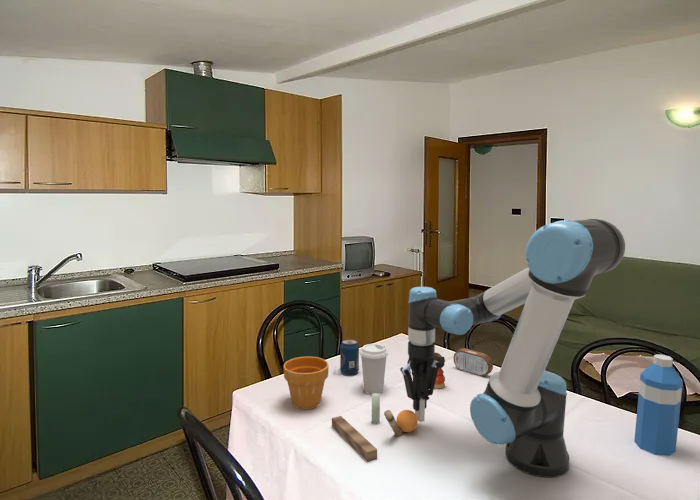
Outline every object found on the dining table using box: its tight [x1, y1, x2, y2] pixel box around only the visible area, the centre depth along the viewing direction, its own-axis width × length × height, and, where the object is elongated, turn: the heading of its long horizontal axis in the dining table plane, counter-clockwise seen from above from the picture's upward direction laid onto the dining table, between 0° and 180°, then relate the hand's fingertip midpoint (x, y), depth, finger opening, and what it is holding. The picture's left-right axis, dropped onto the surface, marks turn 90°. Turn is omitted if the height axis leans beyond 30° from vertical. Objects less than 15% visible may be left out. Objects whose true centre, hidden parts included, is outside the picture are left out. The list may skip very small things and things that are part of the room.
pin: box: [383, 409, 403, 437], centre depth 130 cm, size 2×2×9 cm
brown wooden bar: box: [331, 415, 378, 462], centre depth 129 cm, size 20×3×2 cm, turn 29°
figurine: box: [433, 352, 446, 390], centre depth 163 cm, size 6×6×12 cm
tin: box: [453, 347, 494, 377], centre depth 175 cm, size 15×3×8 cm, turn 49°
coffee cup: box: [359, 343, 389, 395], centre depth 160 cm, size 10×10×15 cm
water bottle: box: [633, 353, 684, 457], centre depth 125 cm, size 9×9×25 cm
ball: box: [395, 409, 419, 433], centre depth 134 cm, size 6×6×6 cm
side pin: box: [371, 393, 381, 425], centre depth 139 cm, size 2×2×8 cm
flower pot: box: [283, 356, 329, 410], centre depth 151 cm, size 14×14×13 cm
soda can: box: [339, 338, 360, 376], centre depth 175 cm, size 7×7×12 cm
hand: (419, 419), depth 137 cm, fingers closed
